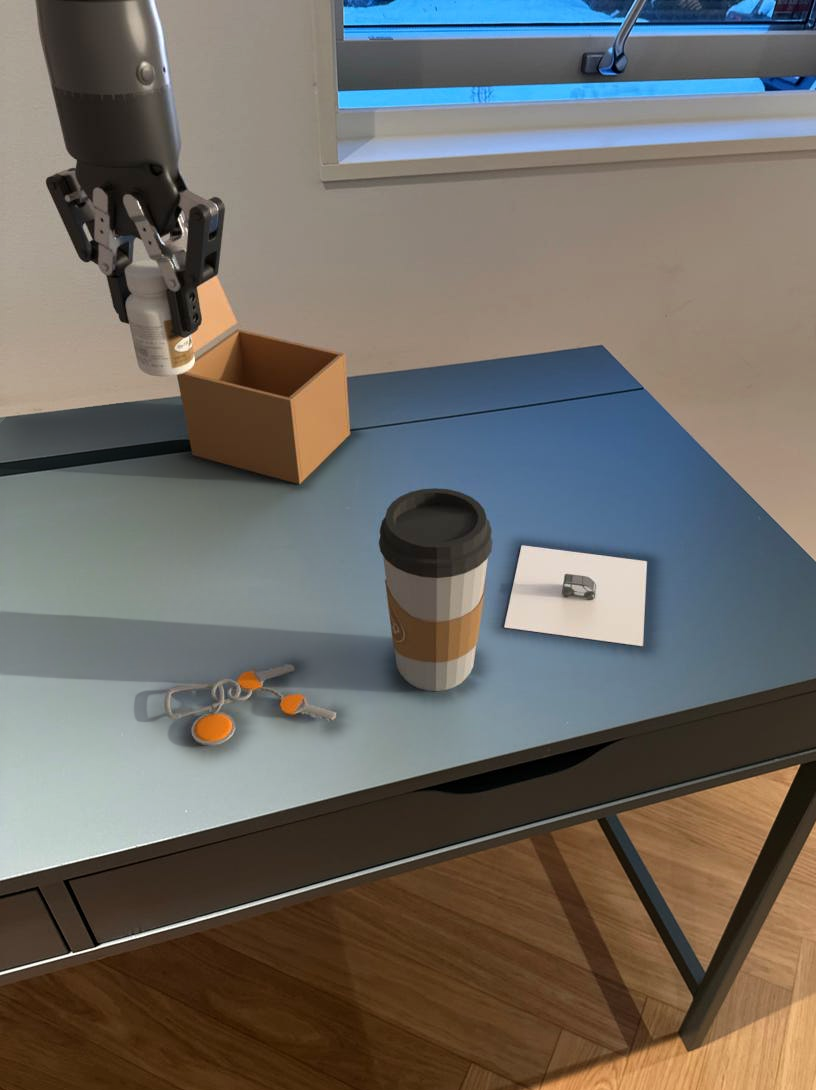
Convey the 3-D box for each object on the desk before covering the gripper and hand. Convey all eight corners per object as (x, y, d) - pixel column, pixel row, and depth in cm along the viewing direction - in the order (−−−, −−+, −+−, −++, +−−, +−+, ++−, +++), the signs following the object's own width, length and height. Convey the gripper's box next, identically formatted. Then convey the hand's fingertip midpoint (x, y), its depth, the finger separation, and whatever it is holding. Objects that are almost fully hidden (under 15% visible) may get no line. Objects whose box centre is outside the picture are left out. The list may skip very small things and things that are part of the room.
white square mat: (642, 646, 80) (645, 633, 79) (504, 627, 81) (505, 614, 80) (646, 561, 89) (649, 548, 88) (521, 545, 90) (522, 532, 89)
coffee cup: (374, 642, 79) (365, 493, 69) (468, 624, 81) (473, 477, 71) (398, 712, 73) (393, 560, 63) (499, 690, 75) (510, 541, 65)
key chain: (166, 753, 69) (164, 746, 69) (164, 684, 74) (162, 677, 74) (338, 725, 72) (337, 718, 71) (325, 660, 77) (324, 653, 76)
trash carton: (192, 455, 99) (175, 372, 93) (249, 408, 107) (237, 328, 100) (299, 484, 96) (290, 400, 90) (350, 434, 104) (345, 353, 97)
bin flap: (176, 365, 92) (173, 365, 92) (237, 322, 100) (234, 323, 100) (145, 302, 89) (142, 302, 89) (211, 262, 96) (208, 263, 96)
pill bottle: (190, 379, 73) (173, 280, 68) (133, 378, 73) (111, 279, 68) (200, 353, 76) (184, 257, 71) (145, 352, 76) (125, 256, 71)
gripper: (237, 78, 62) (265, 327, 73) (62, 49, 65) (116, 290, 77) (166, 103, 56) (209, 367, 68) (-19, 70, 60) (51, 325, 72)
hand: (159, 325), depth 72 cm, fingers closed on pill bottle, 4 cm apart
